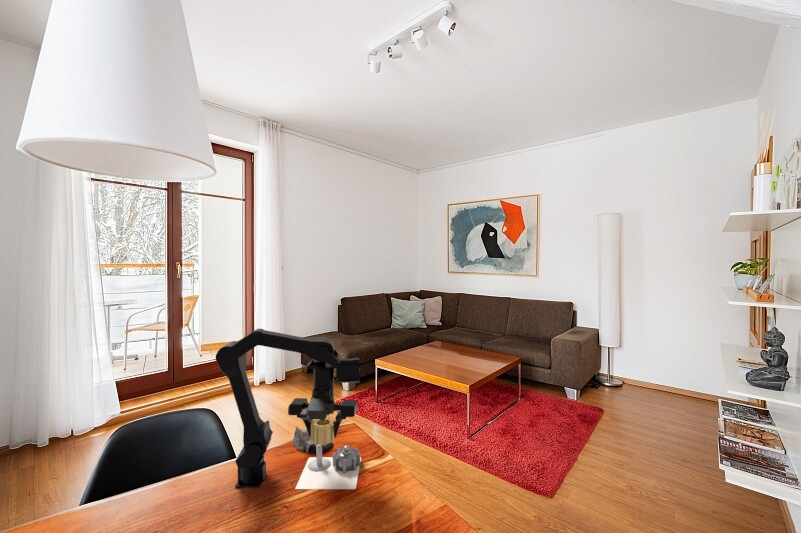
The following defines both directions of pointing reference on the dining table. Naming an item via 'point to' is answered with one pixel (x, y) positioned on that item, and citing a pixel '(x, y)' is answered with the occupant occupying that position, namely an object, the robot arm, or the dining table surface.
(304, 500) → the dining table surface
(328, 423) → the brass gear
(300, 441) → the caster wheel
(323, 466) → the gear board
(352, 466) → the gear
